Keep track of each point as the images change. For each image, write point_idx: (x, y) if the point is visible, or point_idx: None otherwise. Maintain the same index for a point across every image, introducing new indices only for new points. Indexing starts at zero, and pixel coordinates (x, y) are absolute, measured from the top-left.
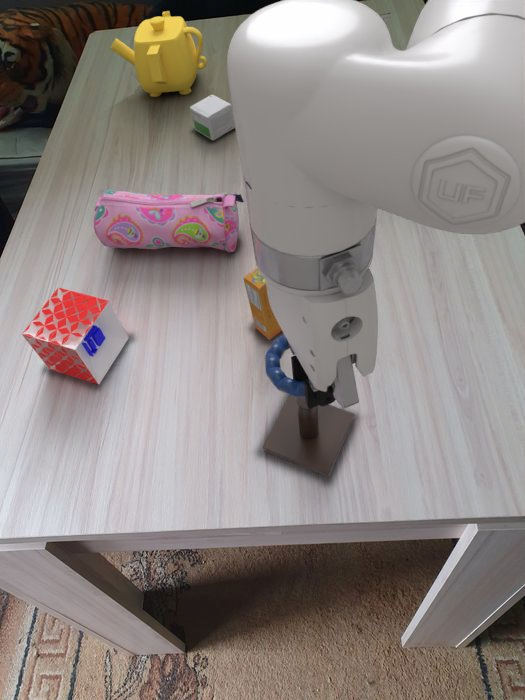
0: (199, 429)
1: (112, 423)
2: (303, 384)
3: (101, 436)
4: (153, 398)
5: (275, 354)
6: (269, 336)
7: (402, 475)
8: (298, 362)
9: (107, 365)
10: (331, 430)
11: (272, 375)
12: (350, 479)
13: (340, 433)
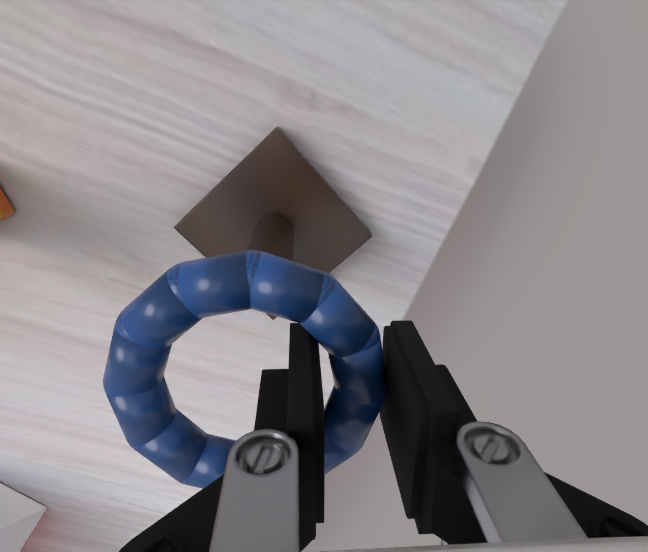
0: (191, 392)
1: (132, 499)
2: (349, 436)
3: (150, 514)
4: (102, 441)
5: (195, 466)
6: (6, 213)
7: (432, 99)
8: (323, 518)
9: (7, 495)
10: (293, 191)
11: None
12: (391, 196)
13: (306, 177)
